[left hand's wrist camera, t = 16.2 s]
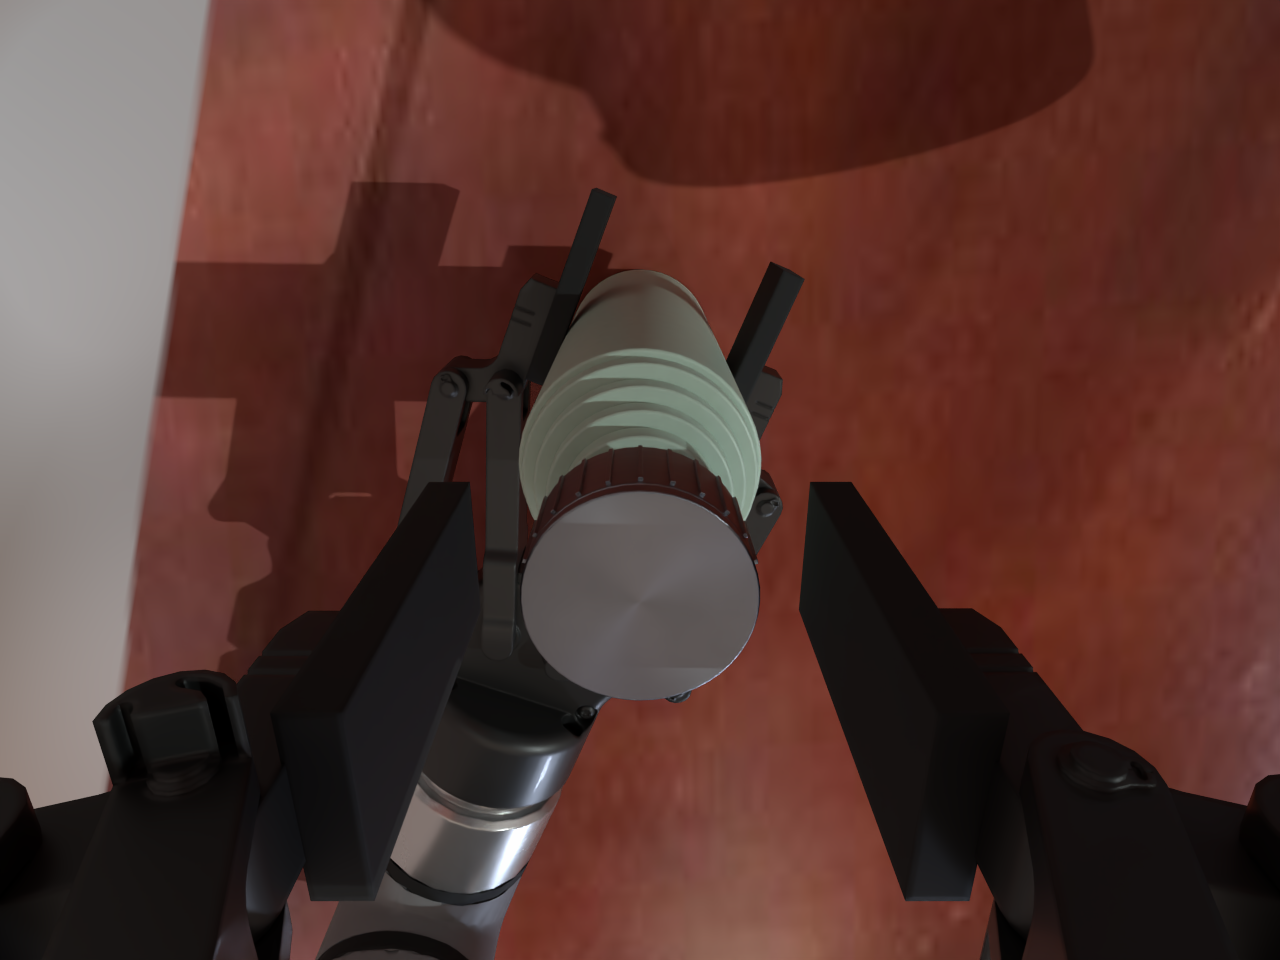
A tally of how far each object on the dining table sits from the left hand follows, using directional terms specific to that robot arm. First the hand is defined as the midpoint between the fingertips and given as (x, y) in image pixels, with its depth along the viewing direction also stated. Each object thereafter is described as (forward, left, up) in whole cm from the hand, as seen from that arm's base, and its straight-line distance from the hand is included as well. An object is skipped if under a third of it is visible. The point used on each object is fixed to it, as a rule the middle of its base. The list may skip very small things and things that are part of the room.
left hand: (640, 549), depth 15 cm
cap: (0, 0, +2) cm, 2 cm away
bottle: (0, 0, -20) cm, 20 cm away
